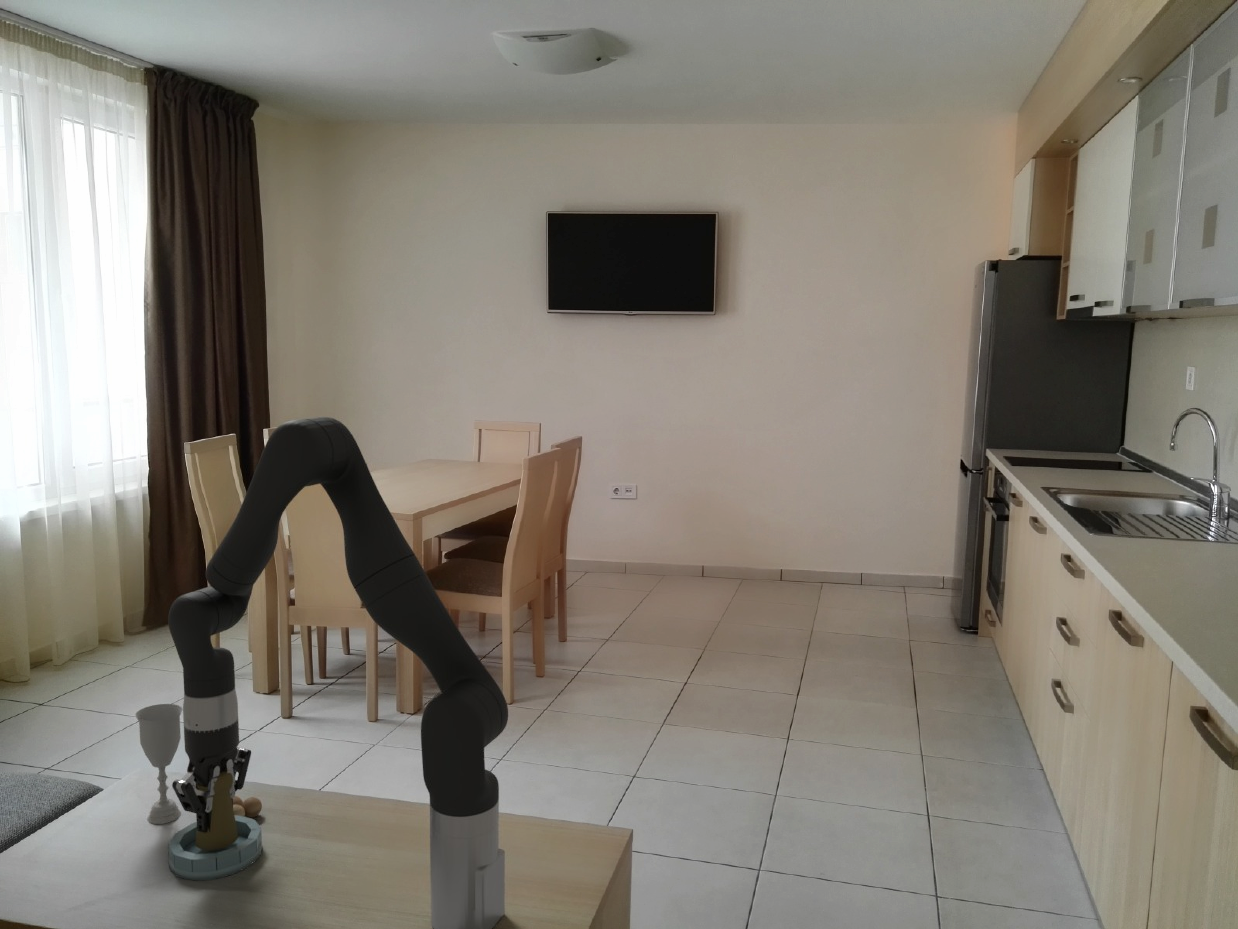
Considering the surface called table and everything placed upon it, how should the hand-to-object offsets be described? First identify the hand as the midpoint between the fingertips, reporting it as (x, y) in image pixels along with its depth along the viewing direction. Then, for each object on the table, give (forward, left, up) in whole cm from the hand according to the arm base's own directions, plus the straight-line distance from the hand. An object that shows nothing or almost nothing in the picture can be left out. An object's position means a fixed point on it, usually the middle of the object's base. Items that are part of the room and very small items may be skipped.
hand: (215, 826), depth 142 cm
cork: (0, 0, -2) cm, 2 cm away
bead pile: (+5, -10, -5) cm, 12 cm away
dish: (0, 0, -5) cm, 5 cm away
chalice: (+17, -6, -5) cm, 19 cm away
